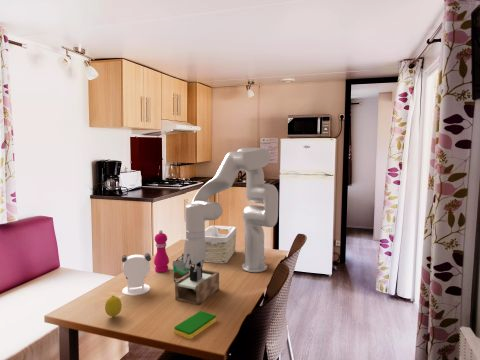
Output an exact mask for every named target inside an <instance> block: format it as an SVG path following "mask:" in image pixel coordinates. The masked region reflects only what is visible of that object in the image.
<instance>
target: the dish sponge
mask: <svg viewBox="0 0 480 360" xmlns="http://www.w3.org/2000/svg"><path fill="white" fill-rule="evenodd" d="M216 322H217V316H216V315H215V314H212V313H209V312H205V311H202V310H200V311H198V312H196V313H194V314H193V315H192V316H190V317H188V318H187V319H185V320H184V321H182V322H180V323H178V324H177V325H175V326H173V327H174V329H173V331H174V332H173V333H174V334H175V335H178V336H181V337H183V338H185V339H188V340H192V339H193V338H194V337H196V336H198V335H199V334H200V333H202V332H203V331H204V330H206V329H208V327H210V326H212V325H213V324H214V323H216Z"/></svg>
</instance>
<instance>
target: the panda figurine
mask: <svg viewBox="0 0 480 360" xmlns="http://www.w3.org/2000/svg"><path fill="white" fill-rule="evenodd" d="M151 260H152V257H151V254H150V252H149V253H148V252H147V253H145V254H131V255H129V256H127V255H126V254H125V255H122V256H121V262H122V273H123V275H124V276H125V278H126V280H127V285H126V286H125V287H124V288H122V291H121V293H122V295H126V296H133V297H134V296H140V295H143V294H146V293H147V292H148V293H149V291H150V290H151V287H150V285H149V284H147V283H145V278H146V276H148V275H149V273H150V272H151V264H150V261H151Z"/></svg>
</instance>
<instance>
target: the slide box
mask: <svg viewBox="0 0 480 360" xmlns="http://www.w3.org/2000/svg"><path fill="white" fill-rule="evenodd" d="M202 273H204V274H210V275H211V276H210V277H208V278H207V279H205V280H204V281H202V282H201V283H199V284H198V285H196V289H190V288H186V287H181V286H178V283H180V282H182V281H183V280H185V279H187V278H188V277H190V272H189V273H188V274H187V275H185V276H183V277H182V278H180V279H178V280H177V281H175V282H174V290H175V291H174V294H175V296H174V297H175V298H174V299H175V301H179V302H184V303H188V304H189V303H190V304H192V305H198V306H200V305H201V304H202V303H204V302H205V301H207V300H208V299H209V298H210V297H212V296H213V295H214V294H215V293H217V292H218V291H219V290H220V272H218V271H214V270H213V271H212V270H209V269H208V270H207V269H203V268H202Z"/></svg>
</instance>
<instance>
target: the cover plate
mask: <svg viewBox="0 0 480 360" xmlns="http://www.w3.org/2000/svg"><path fill="white" fill-rule="evenodd" d="M192 266H193V265H192ZM193 267H194V266H193ZM196 271H197V281H192V280H190V277H188V278H187V279H185V280H183V281H182V282H180V283H178V286H181V287H186V288H190V289H196V285H198V284H199V283H201V282H202V281H204V280H205V279H207V278H208V277H210V276H211V275H210V274H204V273H202V278H201V267H199V266H196Z"/></svg>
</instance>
